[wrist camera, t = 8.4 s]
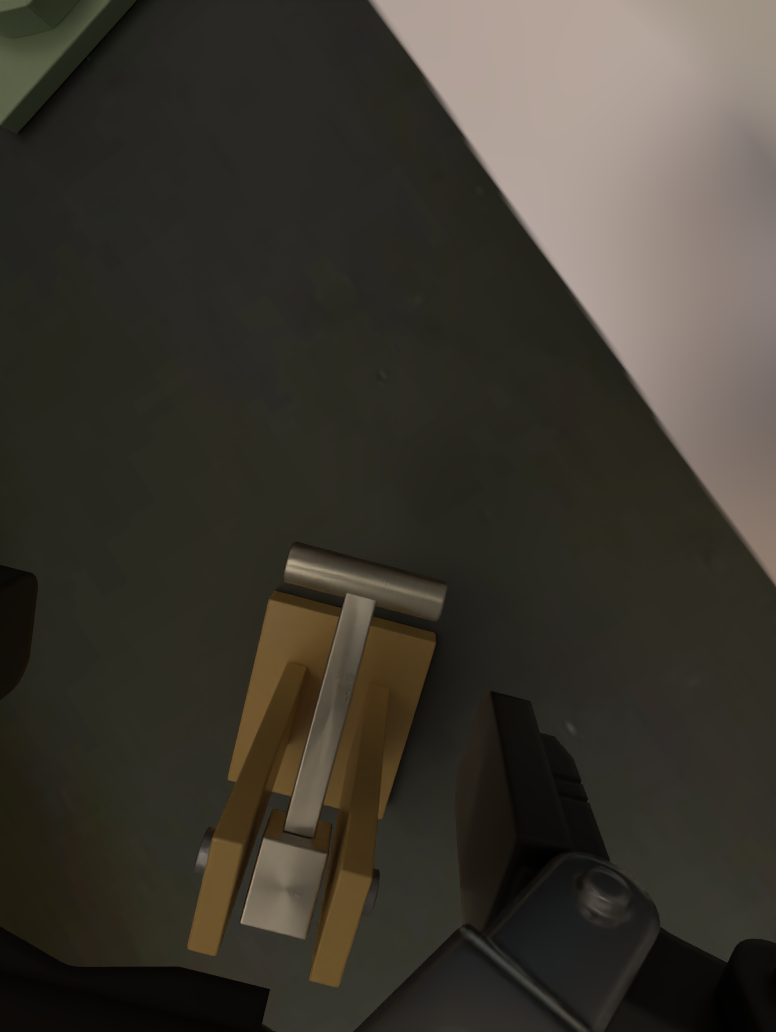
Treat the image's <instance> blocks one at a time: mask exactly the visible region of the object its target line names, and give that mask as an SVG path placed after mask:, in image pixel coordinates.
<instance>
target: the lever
mask: <svg viewBox="0 0 776 1032" xmlns="http://www.w3.org/2000/svg"><path fill="white" fill-rule="evenodd" d="M283 581H284V582H287V583H291V584H295V585H299V586H302V587H306V588H310V589H314V590H317V591H321V592H325V593H329V594H333V595H336V596H340V597H344V601H343V605H342V608H341V612H340V616H339V619H338V623H337V627H336V631H335V634H334V638H333V642H332V646H331V649H330V653H329V657H328V661H327V664H326V668H325V672H324V676H323V679H322V683H321V687H320V690H319V694H318V698H317V702H316V705H315V709H314V713H313V717H312V720H311V724H310V728H309V732H308V735H307V739H306V743H305V747H304V750H303V754H302V758H301V761H300V765H299V769H298V773H297V776H296V780H295V784H294V788H293V791H292V795H291V799H290V803H289V806H288V810H287V812H284V811H280V810H277V809H273V810H272V812H271V814H270V817H269V820H268V823H267V825H266V828H265V831H264V834H263V836H262V839H261V843H260V847H259V851H258V854H257V858H256V862H255V865H254V869H253V873H252V877H251V880H250V884H249V888H248V891H247V895H246V899H245V903H244V906H243V910H242V914H241V917H240V924H242V925H246V926H250V927H254V928H258V929H262V930H266V931H270V932H274V933H278V934H282V935H286V936H290V937H293V938H297V939H301V940H306V938H307V935H308V931H309V928H310V924H311V920H312V916H313V912H314V909H315V905H316V901H317V897H318V893H319V889H320V886H321V882H322V878H323V874H324V870H325V867H326V863H327V859H328V855H329V847H330V839H331V831H332V824H331V823H327V822H323V821H319V819H320V815H321V811H322V808H323V804H324V800H325V796H326V792H327V789H328V785H329V781H330V777H331V774H332V770H333V766H334V762H335V758H336V755H337V751H338V747H339V743H340V739H341V736H342V732H343V728H344V724H345V721H346V717H347V713H348V709H349V705H350V702H351V698H352V694H353V690H354V686H355V683H356V679H357V675H358V671H359V668H360V664H361V660H362V656H363V652H364V649H365V645H366V641H367V637H368V633H369V630H370V626H371V622H372V618H373V615H374V611H375V607H376V606H378V607H382V608H386V609H389V610H393V611H397V612H401V613H405V614H408V615H412V616H416V617H420V618H424V619H427V620H431V621H437V620H438V619H439V617H440V615H441V612H442V609H443V606H444V602H445V598H446V593H447V582H446V581H443V580H440V579H436V578H432V577H428V576H425V575H421V574H417V573H413V572H409V571H406V570H402V569H398V568H394V567H391V566H387V565H383V564H379V563H376V562H372V561H368V560H364V559H360V558H357V557H353V556H349V555H345V554H342V553H338V552H334V551H330V550H326V549H323V548H319V547H315V546H311V545H308V544H304V543H300V542H293V544H292V545H291V548H290V550H289V553H288V556H287V560H286V563H285V567H284V572H283Z"/></svg>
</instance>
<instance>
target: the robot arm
mask: <svg viewBox="0 0 776 1032" xmlns="http://www.w3.org/2000/svg"><path fill="white" fill-rule="evenodd" d="M37 590H38V583H37V579H36V576H35V575H34V574H33V573H30V572H26V571H22V570H18V569H14V568H10V567H6V566H2V565H0V700H1V699H2V698H4V697H5V696H6V695H7V694H8V693H10V692H11V691H12V690H13V689H14V688H15V686H16V685H17V684H18V682H19V681H20V679H21V678H22V676H23V674H24V672H25V669H26V667H27V664H28V661H29V657H30V650H31V642H32V633H33V625H34V616H35V608H36V599H37ZM587 799H588V798H587V795H586V792H585V790H584V787H583V785H582V784H581V779H580V776H579V773H578V770H577V767H576V765H575V762H574V759H573V758H572V756H571V755H570V754H569V753H568V752H567V751H566V749H565V748H564V747H563V746H562V745H561V744H560V742H559V741H558V740H557V739H556V738H555V737H554V736H550V735H546V734H542V733H540V732H539V728H538V725H537V721H536V718H535V715H534V711H533V708H532V705H531V702H530V701H528V700H524V699H520V698H516V697H512V696H509V695H505V694H501V693H497V692H493V691H487V692H486V693H485V695H484V696H483V699H482V701H481V704H480V707H479V710H478V713H477V716H476V719H475V722H474V725H473V728H472V731H471V734H470V738H469V741H468V744H467V747H466V750H465V753H464V756H463V759H462V762H461V765H460V769H459V773H458V777H457V783H456V790H455V815H456V830H457V845H458V860H459V875H460V890H461V904H462V919H463V925H462V926H461V927H460V928H458V929H457V930H456V931H455V932H454V933H453V934H452V935H451V936H450V937H449V938H448V939H447V940H446V941H445V942H444V943H443V944H442V945H441V946H440V947H439V948H438V949H437V950H436V951H435V952H434V953H433V954H432V955H430V956H429V957H428V958H427V959H426V960H425V961H424V962H423V963H422V964H421V965H420V966H419V967H418V968H417V969H416V970H415V971H414V972H413V973H412V974H411V975H410V976H409V977H408V978H407V979H406V980H405V981H404V982H403V983H402V984H401V985H400V986H399V987H398V988H397V989H396V990H395V991H394V992H393V993H392V994H391V995H390V996H389V997H388V998H387V999H386V1000H385V1001H384V1002H383V1003H382V1004H381V1005H380V1006H379V1007H378V1008H377V1009H376V1010H375V1011H374V1012H373V1013H372V1014H371V1015H370V1016H369V1017H368V1018H367V1019H366V1020H365V1021H364V1022H363V1023H362V1024H361V1025H360V1026H359V1027H358V1028H357V1029H356V1030H355V1031H353V1032H776V943H774V942H771V941H767V940H762V939H747V940H744V941H741V942H740V943H739V944H738V945H737V946H736V947H735V949H734V951H733V953H732V955H731V957H730V959H729V961H728V963H727V962H725V961H723V960H721V959H719V958H717V957H715V956H713V955H711V954H709V953H707V952H705V951H703V950H701V949H699V948H697V947H695V946H693V945H691V944H689V943H687V942H685V941H683V940H681V939H680V938H678V937H676V936H674V935H672V934H671V933H669V932H667V931H666V930H664V929H663V928H661V927H660V919H659V914H658V911H657V909H656V906H655V904H654V903H653V901H652V899H651V898H650V896H649V895H648V893H647V892H646V891H645V889H644V888H643V887H642V886H641V885H640V884H639V883H638V882H637V881H636V880H635V879H634V878H633V877H632V876H631V875H629V874H628V873H627V872H626V871H624V870H623V869H622V868H620V867H618V866H617V865H615V864H614V863H612V862H610V859H609V856H608V854H607V851H606V848H605V845H604V842H603V840H602V837H601V834H600V831H599V829H598V826H597V823H596V820H595V817H594V815H593V812H592V809H591V806H590V804H589V803H587ZM269 991H270V989H267V988H263V987H259V986H255V985H251V984H247V983H243V982H239V981H235V980H231V979H227V978H223V977H219V976H215V975H211V974H207V973H203V972H198V971H194V970H190V969H186V968H182V967H75V966H70V965H67V964H64V963H62V962H60V961H59V960H57V959H55V958H53V957H52V956H50V955H48V954H47V953H45V952H43V951H41V950H40V949H38V948H36V947H34V946H33V945H31V944H29V943H28V942H26V941H24V940H22V939H21V938H19V937H17V936H16V935H14V934H12V933H10V932H9V931H7V930H5V929H4V928H2V927H0V1032H275V1031H273V1030H272V1029H270V1028H268V1027H267V1026H265V1025H263V1024H262V1021H263V1017H264V1012H265V1008H266V1004H267V1000H268V996H269Z"/></svg>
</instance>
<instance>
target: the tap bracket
mask: <svg viewBox="0 0 776 1032" xmlns="http://www.w3.org/2000/svg"><path fill="white" fill-rule="evenodd" d="M340 612H341V608H339V607H335V606H332V605H328V604H324V603H320V602H316V601H313V600H309V599H305V598H301V597H297V596H294V595H290V594H286V593H282V592H279V591H274V592H273V594H272V595H271V597H270V599H269V601H268V606H267V610H266V614H265V619H264V623H263V627H262V632H261V636H260V640H259V644H258V649H257V653H256V657H255V662H254V666H253V670H252V675H251V679H250V683H249V688H248V692H247V696H246V701H245V705H244V709H243V714H242V718H241V722H240V727H239V731H238V735H237V739H236V744H235V748H234V752H233V757H232V761H231V765H230V770H229V774H228V780H230V781H234V782H236V783H235V786H234V788H233V790H232V793H231V795H230V797H229V800H228V802H227V804H226V807H225V809H224V811H223V814H222V816H221V818H220V821H219V823H218V826H217V828H214V827H208V829H207V830H206V832H205V834H204V837H203V839H202V842H201V845H200V848H199V851H198V854H197V858H196V862H195V867H194V871H195V872H196V873H200V874H204V876H203V880H202V885H201V889H200V893H199V898H198V902H197V906H196V910H195V915H194V919H193V923H192V928H191V932H190V936H189V941H188V945H187V947H188V949H189V950H192V951H196V952H200V953H204V954H208V955H212V956H216V955H217V954H218V952H219V949H220V946H221V943H222V940H223V937H224V934H225V931H226V928H227V925H228V922H229V919H230V916H231V913H232V910H233V907H234V904H235V901H236V898H237V895H238V892H239V889H240V886H241V883H242V880H243V877H244V874H245V871H246V868H247V865H248V862H249V859H250V856H251V853H252V850H253V847H254V844H255V841H256V838H257V835H258V832H259V829H260V826H261V823H262V820H263V817H264V814H265V811H266V808H267V805H268V802H269V799H270V796H271V793H272V792H276V793H280V794H284V795H288V796H291V795H292V791H293V788H294V784H295V780H296V776H297V773H298V769H299V765H300V761H301V758H302V754H303V750H304V747H305V743H306V739H307V735H308V732H309V728H310V724H311V720H312V717H313V713H314V709H315V705H316V702H317V698H318V694H319V690H320V687H321V683H322V679H323V676H324V672H325V668H326V664H327V661H328V657H329V653H330V649H331V646H332V642H333V638H334V634H335V631H336V627H337V623H338V619H339V616H340ZM435 646H436V634H435V633H434V632H430V631H426V630H423V629H419V628H415V627H411V626H407V625H404V624H400V623H396V622H392V621H389V620H385V619H381V618H377V617H373V618H372V622H371V626H370V630H369V633H368V637H367V641H366V645H365V649H364V652H363V656H362V660H361V664H360V668H359V671H358V675H357V679H356V683H355V686H354V690H353V694H352V698H351V702H350V705H349V709H348V713H347V717H346V721H345V724H344V728H343V732H342V736H341V739H340V743H339V747H338V751H337V755H336V758H335V762H334V766H333V770H332V774H331V777H330V781H329V785H328V789H327V792H326V796H325V800H324V804H323V805H327V806H331V807H335V808H338V809H339V811H338V816H337V822H336V828H335V833H334V839H333V845H332V850H331V856H330V862H329V867H328V873H327V879H326V884H325V890H324V896H323V901H322V907H321V913H320V918H319V924H318V930H317V936H316V941H315V947H314V953H313V958H312V964H311V970H310V975H309V979H310V981H313V982H317V983H321V984H325V985H329V986H333V987H339V985H340V982H341V979H342V975H343V972H344V969H345V966H346V963H347V959H348V956H349V953H350V950H351V946H352V943H353V940H354V937H355V934H356V930H357V927H358V924H359V921H360V917H361V915H365V916H370V915H371V914H372V911H373V909H374V905H375V901H376V897H377V892H378V886H379V878H380V872H379V870H378V869H374V857H375V846H376V834H377V823H378V819H382V818H383V815H384V812H385V809H386V805H387V802H388V799H389V796H390V792H391V789H392V786H393V783H394V779H395V776H396V773H397V770H398V766H399V763H400V760H401V757H402V753H403V750H404V747H405V744H406V740H407V737H408V734H409V730H410V727H411V724H412V721H413V717H414V714H415V711H416V708H417V704H418V701H419V698H420V695H421V691H422V688H423V685H424V682H425V678H426V675H427V672H428V669H429V665H430V662H431V659H432V656H433V652H434V649H435Z"/></svg>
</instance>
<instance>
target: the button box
mask: <svg viewBox="0 0 776 1032" xmlns="http://www.w3.org/2000/svg"><path fill="white" fill-rule="evenodd" d="M136 1H137V0H0V125H1V126H2V127H4V128H6V129H8V130H10V131H12V132H14V133H16V134H17V133H18V132H19V131H20V130H21V129H22V128H23V127H24V126H25V125H26V123H27V122H28V121H29V120H30V119H31V118H32V117H33V116H34V114H35V113H36V112H37V111H38V110H39V109H40V108H41V107H42V106H43V104H44V103H45V102H46V101H47V100H48V99H49V98H50V97H51V95H52V94H53V93H54V92H55V91H56V90H57V89H58V88H59V87H60V85H61V84H62V83H63V82H64V81H65V80H66V79H67V78H68V77H69V75H70V74H71V73H72V72H73V71H74V70H75V69H76V68H77V66H78V65H79V64H80V63H81V62H82V61H83V60H84V59H85V58H86V56H87V55H88V54H89V53H90V52H91V51H92V50H93V49H94V48H95V46H96V45H97V44H98V43H99V42H100V41H101V40H102V39H103V37H104V36H105V35H106V34H107V33H108V32H109V31H110V30H111V29H112V27H113V26H114V25H115V24H116V23H117V22H118V21H119V20H120V19H121V17H122V16H123V15H124V14H125V13H126V12H127V11H128V10H129V8H130V7H131V6H132V5H133V4H134V3H135V2H136Z"/></svg>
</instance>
